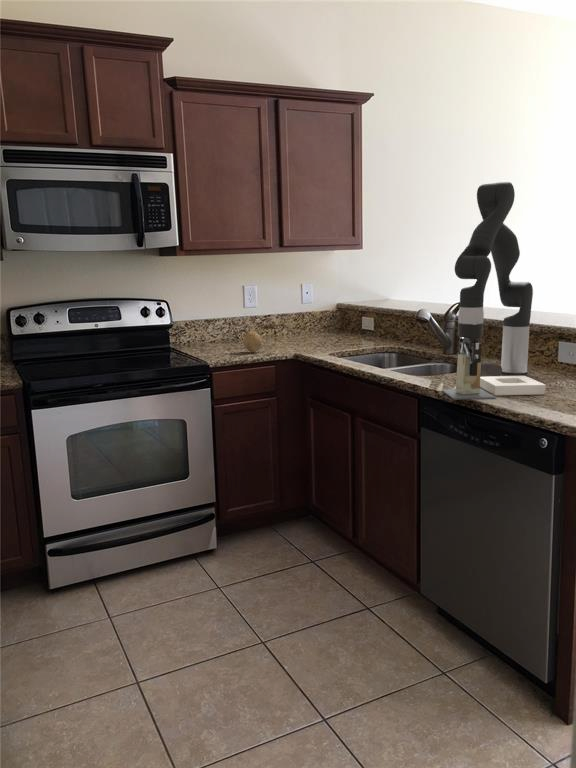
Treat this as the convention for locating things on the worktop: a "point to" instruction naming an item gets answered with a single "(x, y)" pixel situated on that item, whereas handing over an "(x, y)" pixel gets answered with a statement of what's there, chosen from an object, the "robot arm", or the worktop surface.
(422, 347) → the worktop surface
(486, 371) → the perforated stone tool
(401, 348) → the worktop surface
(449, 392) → the mat
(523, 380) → the holder
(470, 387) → the skincare box
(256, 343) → the natural sponge
